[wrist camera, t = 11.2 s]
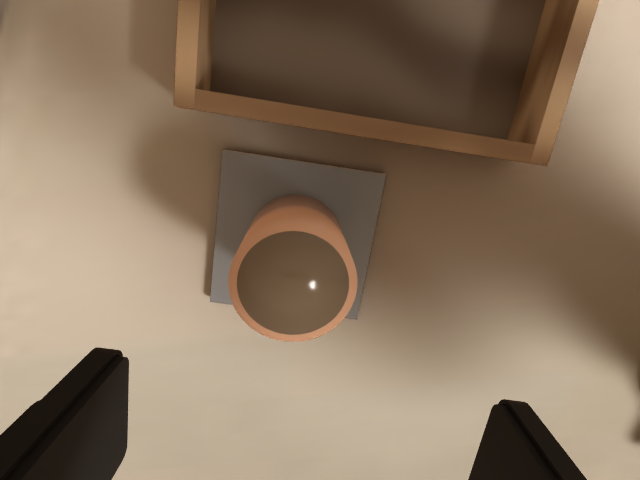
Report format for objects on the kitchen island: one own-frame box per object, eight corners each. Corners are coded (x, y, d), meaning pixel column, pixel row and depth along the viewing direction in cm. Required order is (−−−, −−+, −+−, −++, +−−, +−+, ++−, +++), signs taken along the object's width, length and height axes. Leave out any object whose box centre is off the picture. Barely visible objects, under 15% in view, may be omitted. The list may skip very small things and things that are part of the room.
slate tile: (355, 315, 27) (357, 319, 26) (211, 298, 26) (210, 302, 25) (384, 173, 24) (386, 174, 24) (224, 149, 23) (222, 149, 23)
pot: (334, 289, 26) (345, 348, 19) (244, 278, 25) (222, 334, 18) (349, 201, 24) (368, 232, 17) (253, 187, 23) (234, 213, 17)
